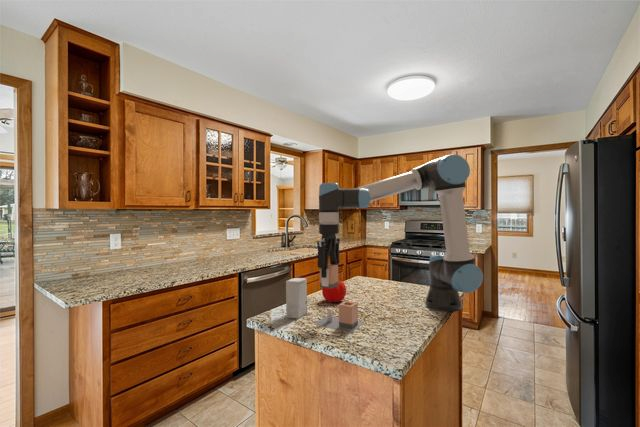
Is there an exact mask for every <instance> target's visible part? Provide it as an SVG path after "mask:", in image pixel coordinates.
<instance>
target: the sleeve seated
mask: <svg viewBox="0 0 640 427" xmlns="http://www.w3.org/2000/svg"><path fill="white" fill-rule="evenodd" d="M358 303H359V302H354V301H349V300H344V301H343V302H340V303H339V304H338V318H339V326H340V327H344V328H349V329H353V328H354V327H355V326H357V325H358V321H359V309H358V308H359V304H358Z"/></svg>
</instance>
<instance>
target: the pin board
mask: <svg viewBox="0 0 640 427" xmlns="http://www.w3.org/2000/svg"><path fill="white" fill-rule="evenodd" d="M364 324H365V321H364V322H363V321H359V320H358V325H357V326H355V327H354V328H353V329H349V328H344V327H340V326H339V316H338V317H337V316H333V308H332V307H327V308H326V316H324V317H322V318H321V319H319V320H318V321H316V322H314V323H313V325H315V326H320V327H323V328H329V329H333V330H337V331H343V332H347V333H351V334H352V333H354V332H355V331H356V330H357V329H359V328H360V327H361V326H362V325H364Z"/></svg>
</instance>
